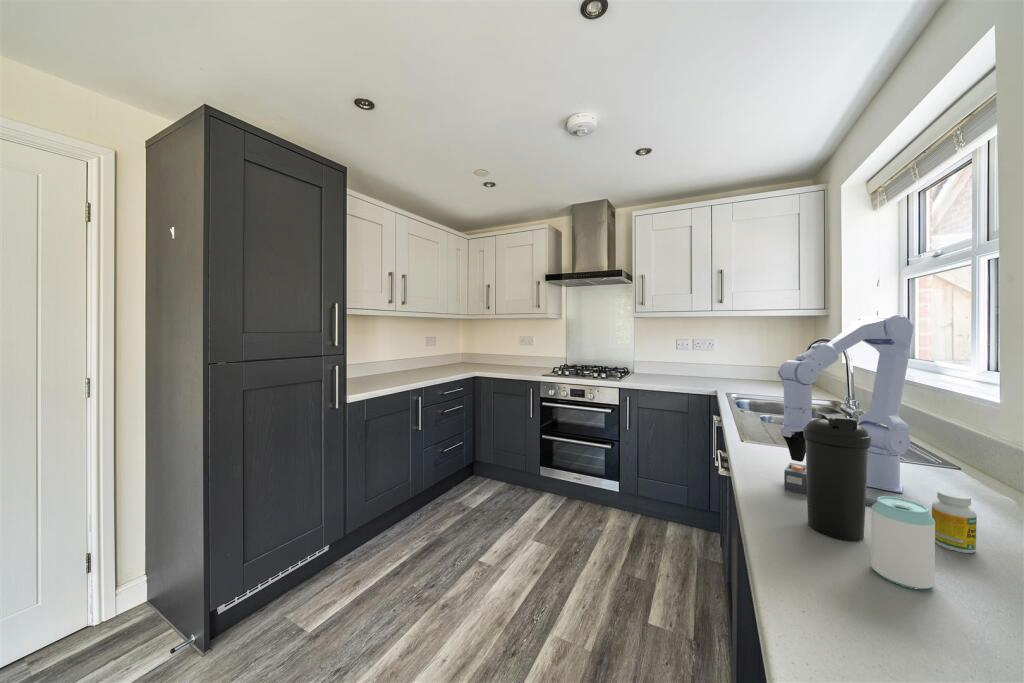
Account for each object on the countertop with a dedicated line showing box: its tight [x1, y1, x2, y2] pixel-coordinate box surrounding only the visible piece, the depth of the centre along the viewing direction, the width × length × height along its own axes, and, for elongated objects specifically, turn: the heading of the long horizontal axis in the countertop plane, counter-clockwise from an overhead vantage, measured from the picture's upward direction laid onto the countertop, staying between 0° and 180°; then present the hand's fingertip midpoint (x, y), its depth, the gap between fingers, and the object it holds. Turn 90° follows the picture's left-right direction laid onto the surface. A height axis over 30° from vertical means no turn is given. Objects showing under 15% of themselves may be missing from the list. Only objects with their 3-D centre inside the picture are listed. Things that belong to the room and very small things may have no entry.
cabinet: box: [783, 462, 807, 496], centre depth 96 cm, size 8×6×5 cm
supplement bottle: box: [931, 489, 978, 554], centre depth 69 cm, size 5×5×10 cm
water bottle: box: [803, 411, 871, 542], centre depth 75 cm, size 10×10×23 cm
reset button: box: [791, 465, 803, 471], centre depth 96 cm, size 2×2×4 cm
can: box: [870, 495, 936, 590], centre depth 60 cm, size 7×7×12 cm
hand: (797, 460), depth 96 cm, fingers closed
